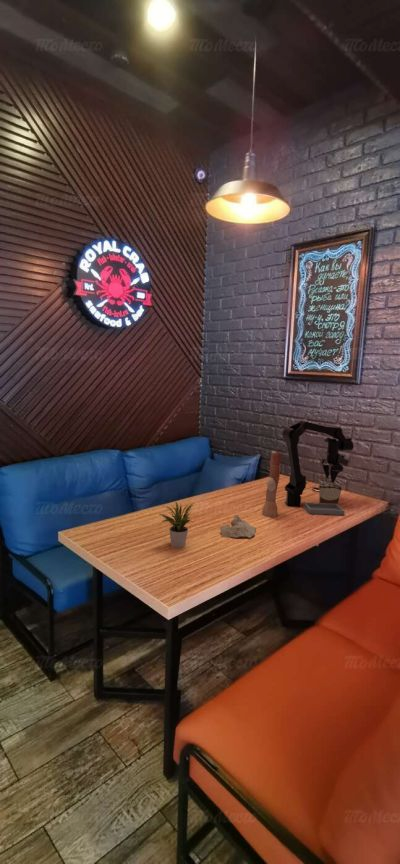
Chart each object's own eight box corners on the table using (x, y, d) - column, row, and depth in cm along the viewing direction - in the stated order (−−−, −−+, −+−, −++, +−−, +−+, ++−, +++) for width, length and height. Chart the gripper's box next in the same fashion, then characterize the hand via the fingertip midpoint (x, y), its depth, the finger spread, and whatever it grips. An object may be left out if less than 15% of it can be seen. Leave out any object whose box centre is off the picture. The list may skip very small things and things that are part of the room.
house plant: (178, 533, 170) (180, 493, 168) (205, 543, 161) (207, 501, 159) (152, 543, 159) (154, 501, 157) (180, 554, 150) (182, 510, 148)
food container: (338, 501, 225) (340, 483, 224) (341, 505, 219) (342, 486, 218) (314, 500, 226) (316, 481, 225) (316, 503, 220) (318, 484, 219)
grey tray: (309, 514, 202) (309, 509, 202) (303, 507, 213) (303, 502, 212) (343, 515, 203) (344, 510, 202) (336, 508, 213) (336, 503, 213)
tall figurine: (270, 518, 194) (275, 453, 190) (257, 514, 199) (262, 450, 195) (283, 513, 201) (288, 451, 197) (271, 509, 206) (275, 448, 202)
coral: (224, 541, 165) (225, 529, 164) (211, 527, 180) (212, 515, 179) (266, 538, 170) (267, 526, 169) (250, 524, 185) (251, 513, 184)
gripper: (355, 455, 210) (351, 485, 212) (342, 448, 228) (339, 476, 230) (332, 453, 209) (329, 484, 212) (321, 447, 228) (318, 475, 230)
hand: (329, 480), depth 221 cm, fingers open, 9 cm apart
